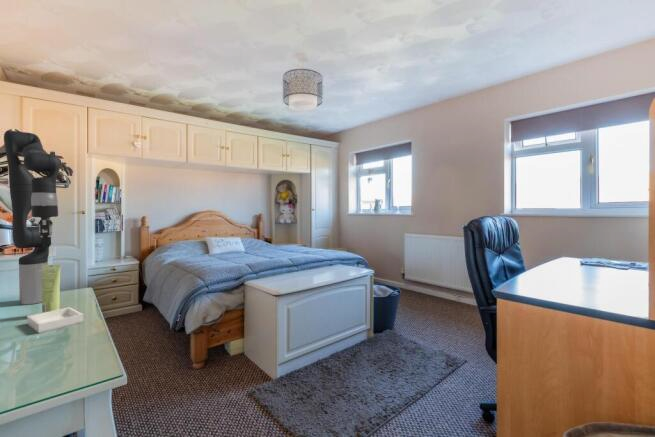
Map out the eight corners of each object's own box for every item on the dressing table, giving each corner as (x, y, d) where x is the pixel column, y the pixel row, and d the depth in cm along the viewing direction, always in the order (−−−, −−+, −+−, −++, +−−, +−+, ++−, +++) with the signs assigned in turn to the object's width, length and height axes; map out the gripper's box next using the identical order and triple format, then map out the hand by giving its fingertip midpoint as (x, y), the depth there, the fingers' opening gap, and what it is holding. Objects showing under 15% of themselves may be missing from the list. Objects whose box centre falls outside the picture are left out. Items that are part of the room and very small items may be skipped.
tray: (27, 324, 108) (27, 316, 108) (70, 314, 118) (69, 307, 117) (38, 333, 100) (38, 324, 100) (83, 322, 110) (83, 314, 110)
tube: (62, 311, 122) (61, 262, 121) (61, 314, 118) (60, 264, 117) (42, 314, 118) (41, 264, 117) (41, 318, 114) (40, 266, 113)
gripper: (33, 205, 121) (35, 246, 121) (29, 204, 110) (31, 248, 110) (58, 205, 126) (60, 244, 126) (56, 204, 115) (58, 246, 115)
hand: (46, 246), depth 118 cm, fingers open, 8 cm apart
